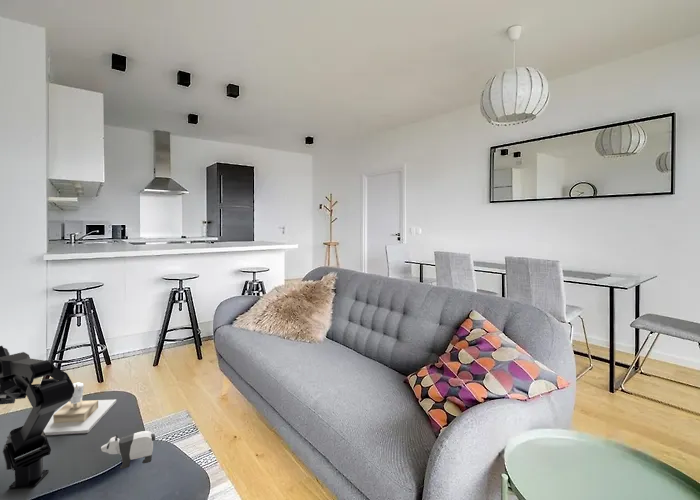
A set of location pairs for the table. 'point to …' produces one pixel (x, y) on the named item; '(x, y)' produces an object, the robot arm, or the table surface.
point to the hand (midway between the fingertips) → (31, 400)
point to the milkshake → (77, 396)
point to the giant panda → (131, 447)
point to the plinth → (75, 412)
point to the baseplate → (79, 426)
